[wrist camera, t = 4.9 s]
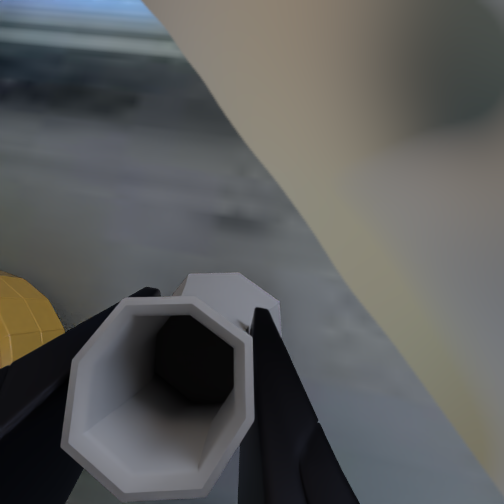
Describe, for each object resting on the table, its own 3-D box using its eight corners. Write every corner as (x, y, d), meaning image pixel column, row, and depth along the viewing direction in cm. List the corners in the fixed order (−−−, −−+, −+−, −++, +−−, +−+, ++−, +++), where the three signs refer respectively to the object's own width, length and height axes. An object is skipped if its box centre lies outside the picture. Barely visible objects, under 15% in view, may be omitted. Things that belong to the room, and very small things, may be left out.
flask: (131, 383, 13) (-194, 590, 3) (181, 255, 15) (60, 146, 5) (263, 426, 13) (325, 791, 3) (298, 291, 14) (409, 249, 5)
